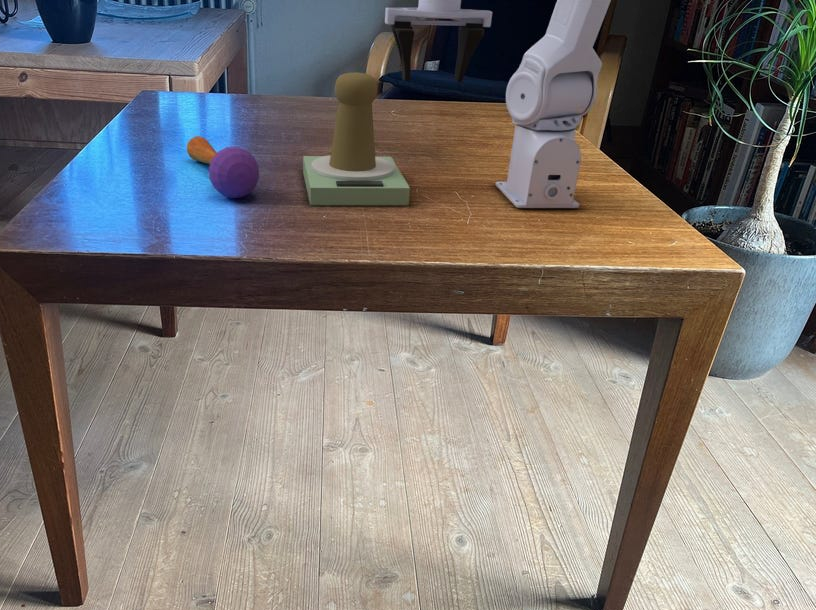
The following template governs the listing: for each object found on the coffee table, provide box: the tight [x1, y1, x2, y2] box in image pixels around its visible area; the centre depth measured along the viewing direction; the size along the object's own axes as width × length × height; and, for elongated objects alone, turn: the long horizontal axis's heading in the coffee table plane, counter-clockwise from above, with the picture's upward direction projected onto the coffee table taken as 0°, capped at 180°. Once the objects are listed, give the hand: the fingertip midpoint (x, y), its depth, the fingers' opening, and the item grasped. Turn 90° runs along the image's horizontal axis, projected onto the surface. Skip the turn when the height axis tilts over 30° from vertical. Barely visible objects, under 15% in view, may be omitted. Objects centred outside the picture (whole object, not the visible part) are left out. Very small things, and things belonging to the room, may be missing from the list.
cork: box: [329, 71, 378, 171], centre depth 91 cm, size 6×6×11 cm
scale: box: [302, 154, 411, 206], centre depth 94 cm, size 14×12×3 cm
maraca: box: [186, 136, 260, 199], centre depth 94 cm, size 6×6×20 cm
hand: (432, 80), depth 105 cm, fingers open, 7 cm apart
